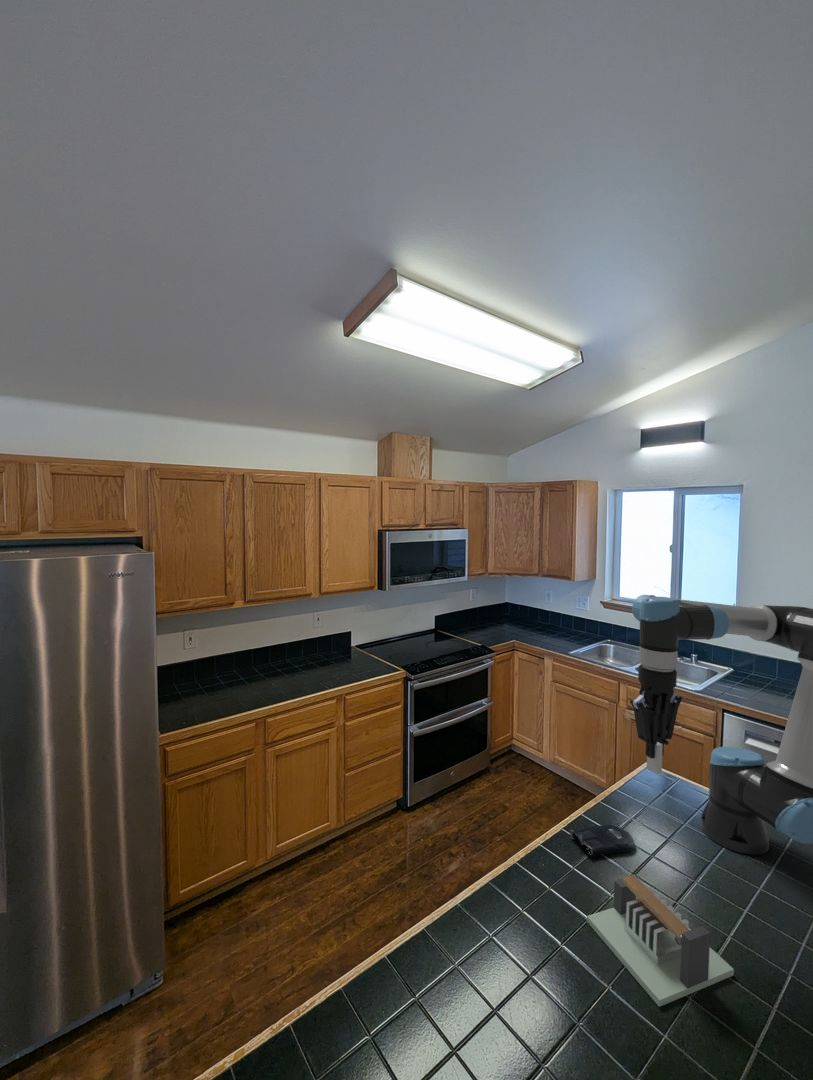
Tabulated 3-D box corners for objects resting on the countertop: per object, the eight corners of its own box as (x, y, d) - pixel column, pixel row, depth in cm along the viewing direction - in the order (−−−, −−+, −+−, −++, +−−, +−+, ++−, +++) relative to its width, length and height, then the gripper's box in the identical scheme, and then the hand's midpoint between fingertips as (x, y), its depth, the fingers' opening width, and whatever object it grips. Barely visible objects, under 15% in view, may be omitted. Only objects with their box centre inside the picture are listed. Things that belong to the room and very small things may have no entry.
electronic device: (594, 869, 114) (643, 850, 118) (590, 846, 114) (639, 827, 118) (571, 849, 123) (617, 831, 127) (567, 827, 123) (613, 811, 127)
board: (653, 900, 103) (654, 856, 102) (733, 975, 86) (735, 923, 85) (586, 921, 97) (588, 875, 96) (659, 1006, 80) (661, 951, 79)
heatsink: (654, 919, 96) (655, 891, 96) (689, 953, 89) (690, 923, 88) (624, 929, 94) (625, 901, 93) (657, 965, 86) (658, 934, 86)
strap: (635, 878, 99) (636, 872, 99) (698, 940, 85) (698, 934, 85) (619, 883, 97) (619, 877, 97) (680, 947, 83) (680, 940, 83)
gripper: (665, 659, 108) (661, 758, 109) (621, 664, 104) (618, 766, 105) (694, 669, 101) (690, 774, 102) (648, 674, 97) (645, 784, 98)
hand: (654, 770), depth 104 cm, fingers closed
